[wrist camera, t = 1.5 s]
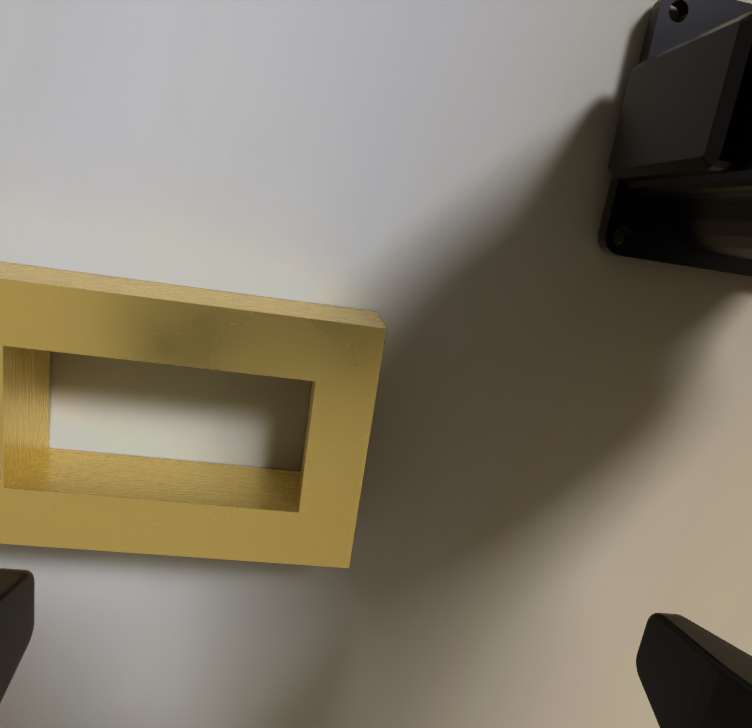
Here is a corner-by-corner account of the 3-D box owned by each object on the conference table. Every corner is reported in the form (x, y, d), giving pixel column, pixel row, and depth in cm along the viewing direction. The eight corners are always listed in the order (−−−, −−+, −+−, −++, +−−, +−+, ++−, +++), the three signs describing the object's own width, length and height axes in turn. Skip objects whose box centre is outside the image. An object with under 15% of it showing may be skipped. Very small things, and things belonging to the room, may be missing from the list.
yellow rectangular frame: (376, 311, 16) (386, 328, 14) (344, 521, 17) (349, 567, 15) (-12, 260, 15) (-73, 268, 12) (-9, 492, 16) (-63, 539, 14)
